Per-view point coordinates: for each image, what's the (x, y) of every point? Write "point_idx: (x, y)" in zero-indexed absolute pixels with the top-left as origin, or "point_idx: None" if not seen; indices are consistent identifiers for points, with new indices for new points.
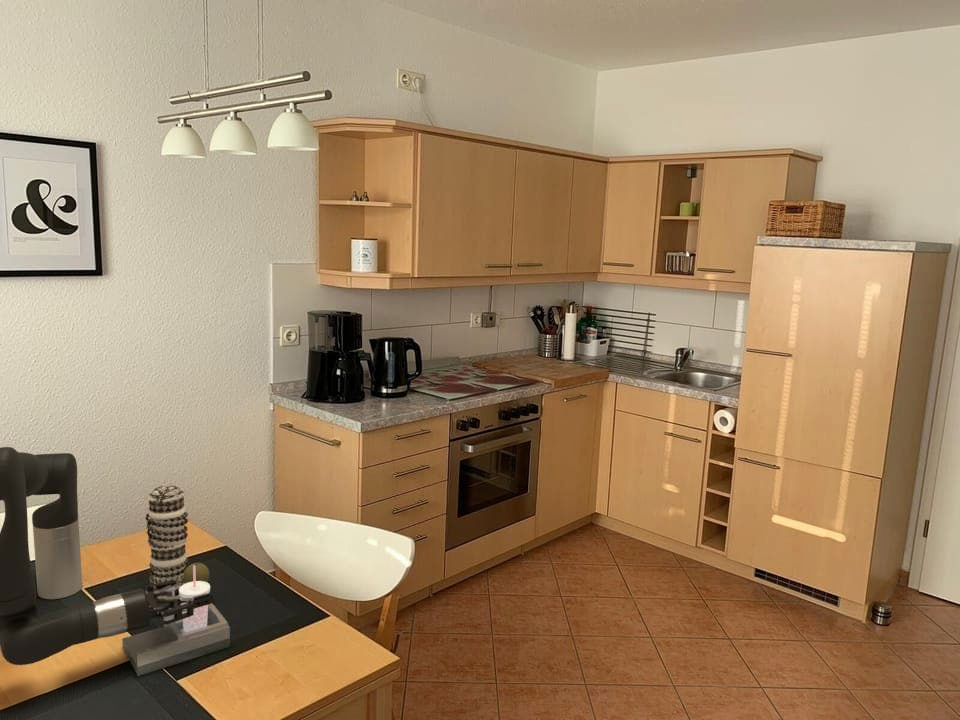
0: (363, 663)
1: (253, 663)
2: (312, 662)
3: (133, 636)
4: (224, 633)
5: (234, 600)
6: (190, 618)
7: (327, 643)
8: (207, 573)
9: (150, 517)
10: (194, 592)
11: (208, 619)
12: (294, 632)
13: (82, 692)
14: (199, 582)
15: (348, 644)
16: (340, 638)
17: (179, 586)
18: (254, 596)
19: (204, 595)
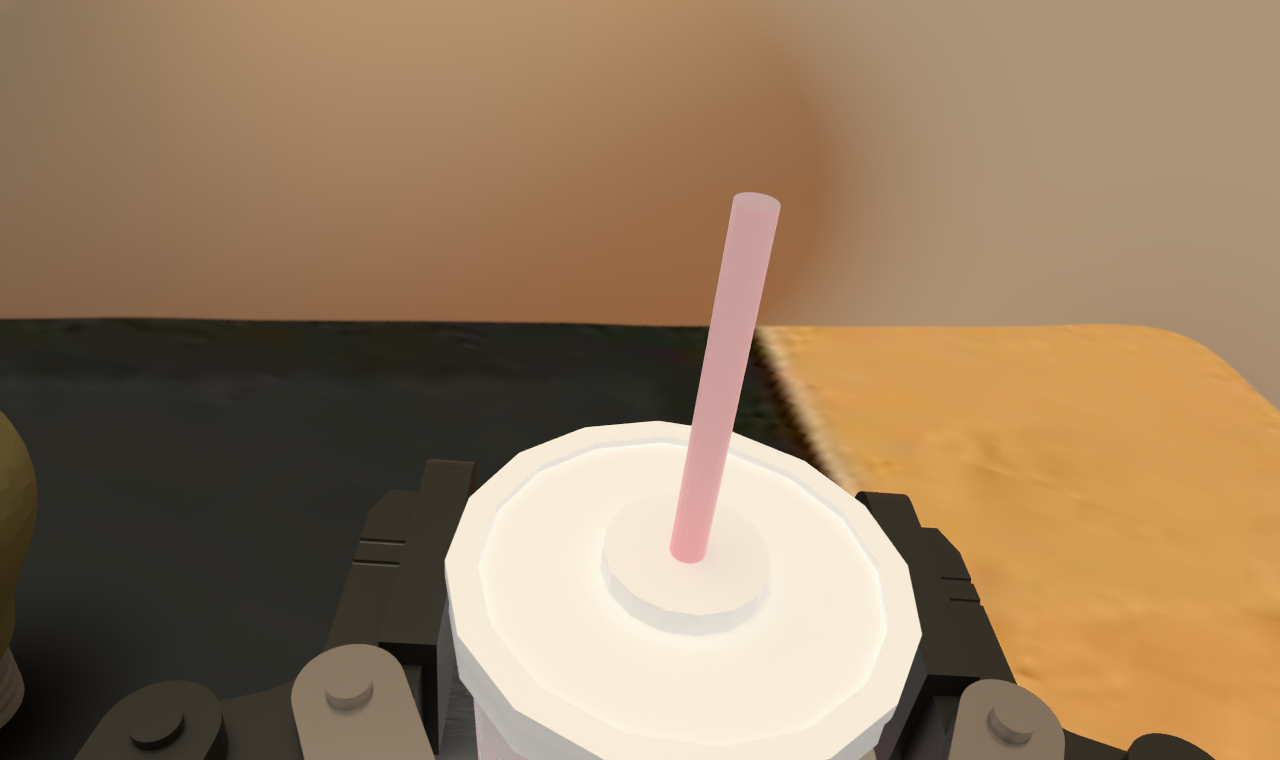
0: (1195, 384)
1: (1115, 722)
2: (1157, 499)
3: None
4: None
5: (216, 514)
6: None
7: (990, 401)
8: (7, 420)
9: None
10: (815, 610)
11: (450, 744)
12: (826, 446)
13: None
14: (536, 476)
15: (1024, 361)
16: (963, 359)
17: (418, 714)
18: (285, 426)
19: (927, 552)
